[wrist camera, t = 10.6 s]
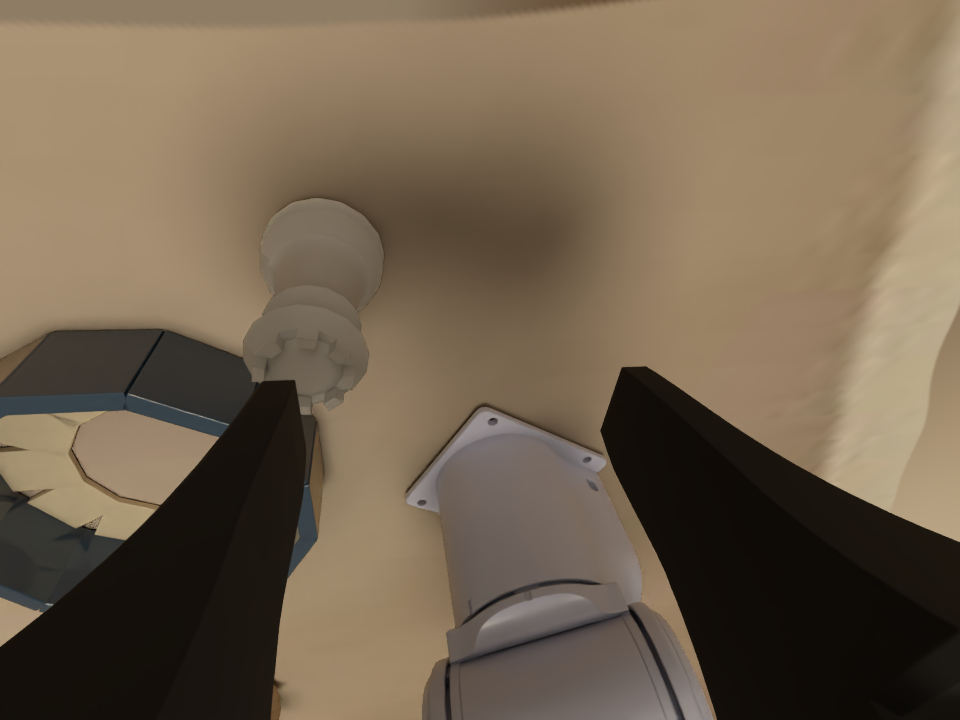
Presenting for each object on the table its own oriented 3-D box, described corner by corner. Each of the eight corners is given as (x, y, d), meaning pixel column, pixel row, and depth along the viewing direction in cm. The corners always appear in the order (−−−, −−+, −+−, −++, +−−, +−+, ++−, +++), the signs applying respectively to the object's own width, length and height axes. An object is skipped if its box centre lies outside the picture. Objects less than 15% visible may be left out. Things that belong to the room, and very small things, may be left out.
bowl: (372, 406, 24) (373, 468, 21) (257, 567, 30) (244, 635, 26) (-3, 266, 17) (-89, 327, 14) (-57, 512, 23) (-125, 594, 20)
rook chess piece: (252, 281, 19) (193, 422, 13) (278, 173, 17) (225, 277, 11) (363, 314, 21) (361, 453, 14) (400, 220, 19) (417, 334, 12)
